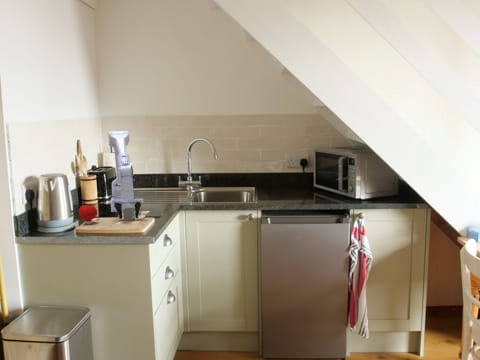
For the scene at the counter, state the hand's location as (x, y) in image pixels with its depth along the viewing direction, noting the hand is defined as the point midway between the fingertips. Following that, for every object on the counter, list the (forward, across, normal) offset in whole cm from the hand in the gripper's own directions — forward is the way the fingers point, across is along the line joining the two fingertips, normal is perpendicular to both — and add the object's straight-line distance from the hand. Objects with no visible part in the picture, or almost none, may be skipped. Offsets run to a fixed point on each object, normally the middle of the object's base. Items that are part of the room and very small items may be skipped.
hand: (129, 218), depth 211 cm
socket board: (+2, 0, +6) cm, 6 cm away
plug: (+2, 0, 0) cm, 3 cm away
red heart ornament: (+3, -18, -4) cm, 19 cm away
